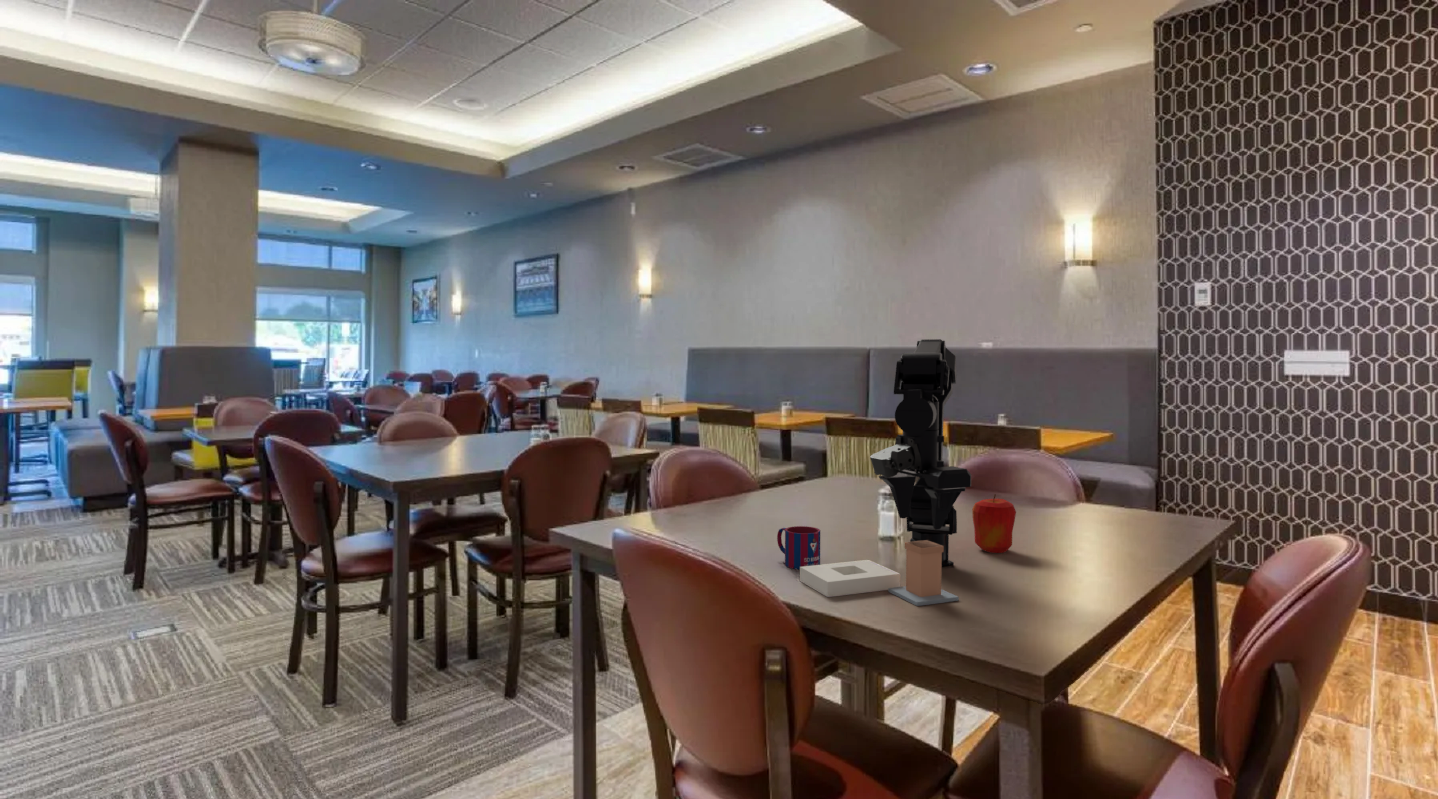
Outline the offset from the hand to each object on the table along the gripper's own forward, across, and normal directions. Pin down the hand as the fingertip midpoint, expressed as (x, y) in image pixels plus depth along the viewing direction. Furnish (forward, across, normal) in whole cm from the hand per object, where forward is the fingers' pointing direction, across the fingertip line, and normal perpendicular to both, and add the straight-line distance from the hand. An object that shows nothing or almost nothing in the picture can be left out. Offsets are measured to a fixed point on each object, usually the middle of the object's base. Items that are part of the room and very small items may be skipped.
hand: (919, 523), depth 122 cm
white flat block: (+12, -9, -8) cm, 17 cm away
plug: (+11, +1, 0) cm, 11 cm away
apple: (+12, -19, +32) cm, 40 cm away
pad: (+12, +1, 0) cm, 12 cm away
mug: (+12, -25, -10) cm, 29 cm away
